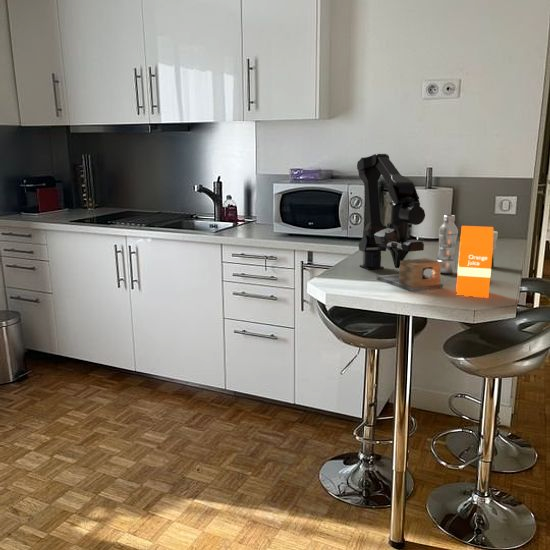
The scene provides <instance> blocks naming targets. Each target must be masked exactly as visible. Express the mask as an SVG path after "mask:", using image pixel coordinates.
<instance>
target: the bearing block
mask: <svg viewBox="0 0 550 550" xmlns="http://www.w3.org/2000/svg"><path fill="white" fill-rule="evenodd" d="M423 268H429V269H432V270H435V271H436V272H437V277H436V278H435V279H434V280H431V279H428V278H424V277H423ZM440 271H441V262H438V261H437V260H434V259H430V258H425V257H424V258H416V259H415V258H413V259H404V260H402V261H400V267H399V273H393V274H385V275H376V280H378V281H381V282H383V283H386V284H389V285H391V286H393V287H394V286H395V287H397V288H401V289H403V290H406V291H409V292H412V291H413V292H420V290H421V291H428V290H427V289H429V290H435V289H434V288H437V289H443V288H444V284H442V283H440V282H441V273H440ZM442 287H443V288H442Z"/></svg>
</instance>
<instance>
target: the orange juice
mask: <svg viewBox="0 0 550 550" xmlns="http://www.w3.org/2000/svg"><path fill="white" fill-rule="evenodd" d="M460 230H461V231H460V241H459V249H458V262H457V273H456V274H457V275H456V276H457V277H456V286H455V287H456V288H455V292H457V294H456V296H457V295H464V296H463V297H469V296H473V298H483V297H484V298H486V299H489V295H490V293H489V292H490V283H491V274H492V267H491V264H492V253H493V254H494V252H493V251H494V250H493V231H494V227H493V226H478V225H477V226H476V225H461V229H460ZM484 298H483V299H484Z"/></svg>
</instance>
